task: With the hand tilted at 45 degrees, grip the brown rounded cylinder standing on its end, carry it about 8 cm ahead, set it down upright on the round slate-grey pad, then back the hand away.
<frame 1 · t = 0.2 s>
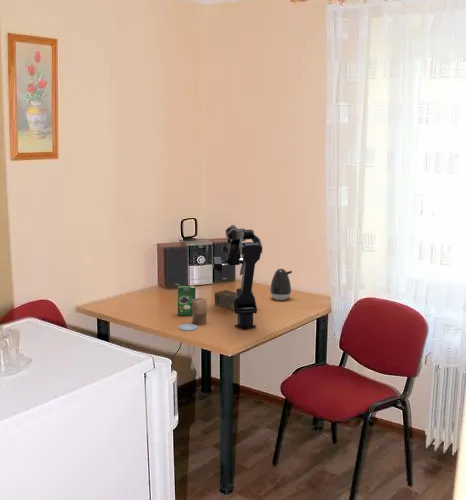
hand: (230, 275, 289), 15 cm above the table, tool tilted 35°, fingers open, 9 cm apart
brown rounded cylinder: (199, 322, 268), on the table
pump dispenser: (280, 299, 305), on the table
slate pad: (188, 327, 261), on the table
beverage carton: (234, 308, 291), on the table
coffee box: (186, 315, 279), on the table
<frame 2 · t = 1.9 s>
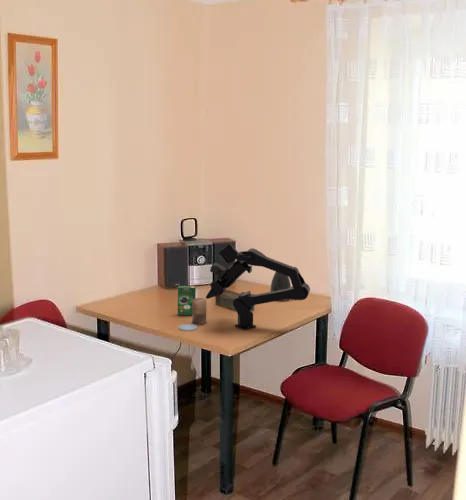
hand: (209, 295, 264), 13 cm above the table, tool tilted 45°, fingers open, 9 cm apart
nothing on the table moved.
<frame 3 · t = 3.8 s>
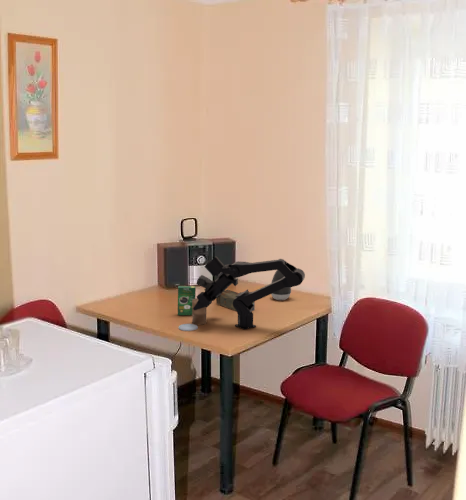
hand: (196, 307, 267), 7 cm above the table, tool tilted 45°, fingers closed on brown rounded cylinder, 6 cm apart
brown rounded cylinder: (199, 322, 268), on the table, touching gripper
everything else where it was.
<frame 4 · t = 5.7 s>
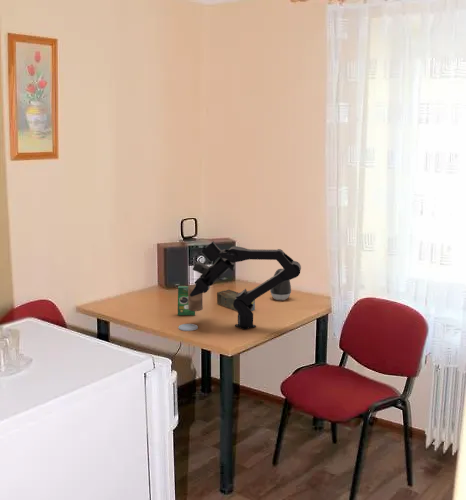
hand: (192, 293, 264), 13 cm above the table, tool tilted 45°, fingers closed on brown rounded cylinder, 6 cm apart
brown rounded cylinder: (195, 309, 265), point 7 cm above the table, touching gripper
everything else where it was.
when the fingers open (8 cm above the table, at t = 7.5 s): brown rounded cylinder drops 1 cm, resting on slate pad.
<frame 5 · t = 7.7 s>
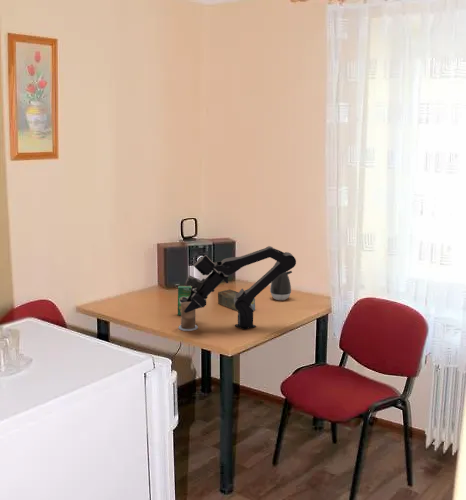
hand: (184, 308, 259), 8 cm above the table, tool tilted 45°, fingers open, 8 cm apart
brown rounded cylinder: (188, 326, 261), point 1 cm above the table, touching slate pad
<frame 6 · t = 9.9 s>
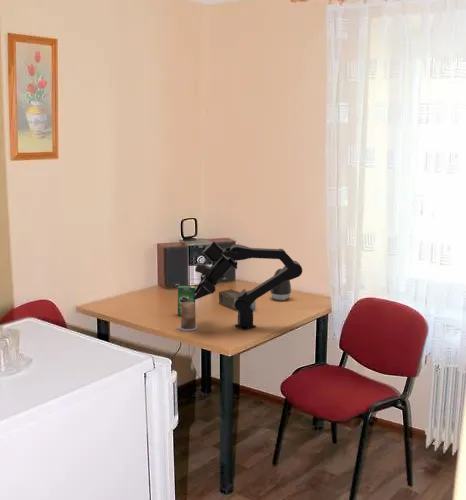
hand: (194, 295, 259), 14 cm above the table, tool tilted 45°, fingers open, 9 cm apart
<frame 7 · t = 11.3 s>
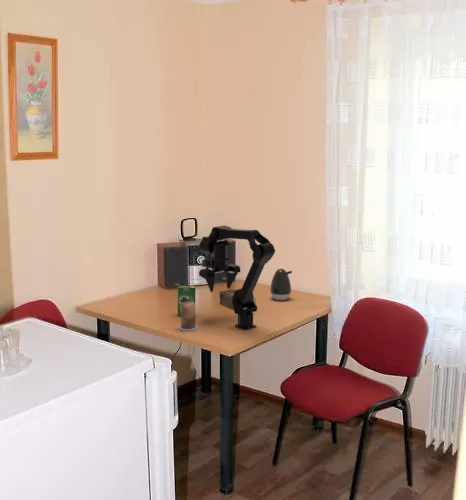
hand: (220, 290, 270), 13 cm above the table, tool pointing down, fingers open, 9 cm apart
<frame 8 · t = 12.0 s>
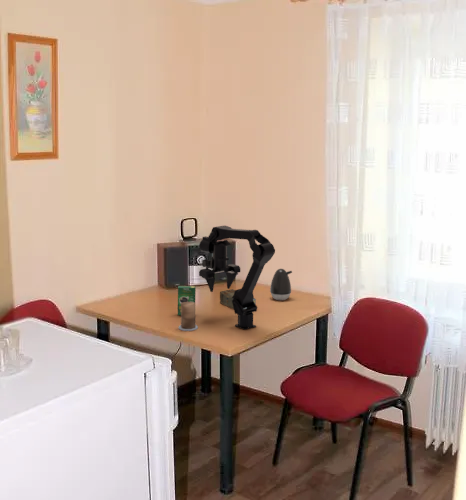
hand: (220, 290, 270), 13 cm above the table, tool pointing down, fingers open, 9 cm apart
at the end: brown rounded cylinder 0.1 cm from the slate pad (horizontally); brown rounded cylinder tilted 0°; the gripper is holding nothing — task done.
